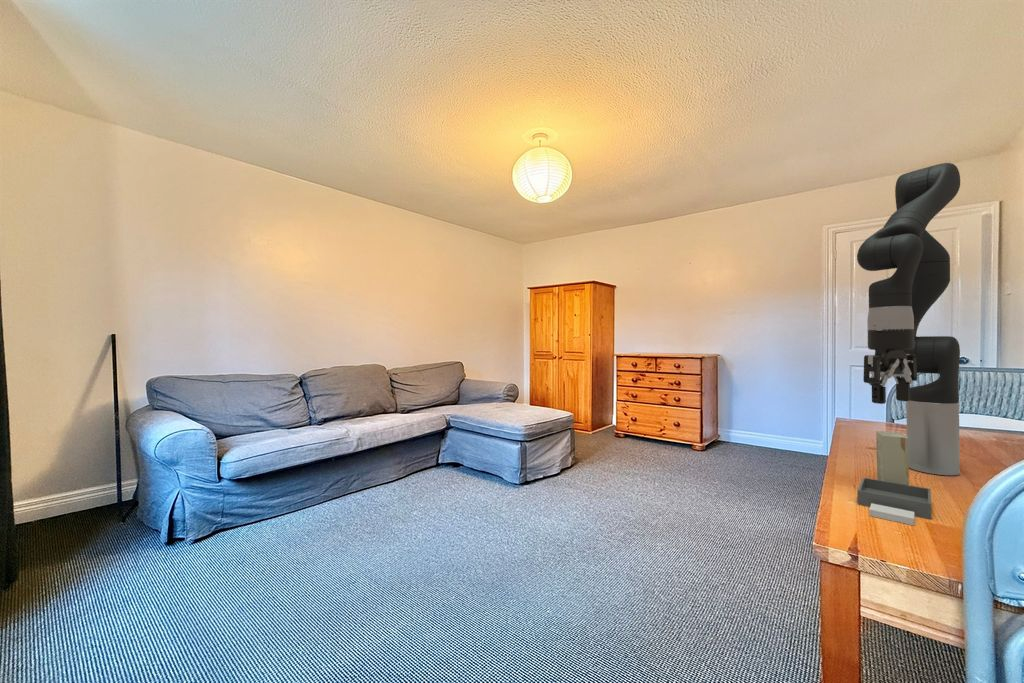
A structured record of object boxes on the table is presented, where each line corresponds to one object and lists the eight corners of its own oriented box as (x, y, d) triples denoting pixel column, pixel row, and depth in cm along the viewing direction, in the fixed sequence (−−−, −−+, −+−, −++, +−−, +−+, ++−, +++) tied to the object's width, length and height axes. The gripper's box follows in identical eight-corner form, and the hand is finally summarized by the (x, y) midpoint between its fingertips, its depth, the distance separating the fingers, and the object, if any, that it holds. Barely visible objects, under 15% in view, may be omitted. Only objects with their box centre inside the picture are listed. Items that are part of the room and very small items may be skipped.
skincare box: (910, 496, 87) (909, 437, 87) (882, 492, 89) (882, 435, 89) (901, 486, 92) (901, 431, 92) (876, 483, 94) (875, 429, 94)
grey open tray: (863, 490, 90) (862, 477, 90) (930, 502, 83) (930, 488, 83) (854, 512, 79) (854, 497, 79) (931, 529, 72) (931, 513, 72)
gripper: (889, 328, 97) (890, 398, 97) (849, 328, 92) (850, 401, 92) (931, 327, 90) (932, 402, 89) (890, 327, 85) (891, 406, 85)
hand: (891, 402), depth 91 cm, fingers open, 8 cm apart
